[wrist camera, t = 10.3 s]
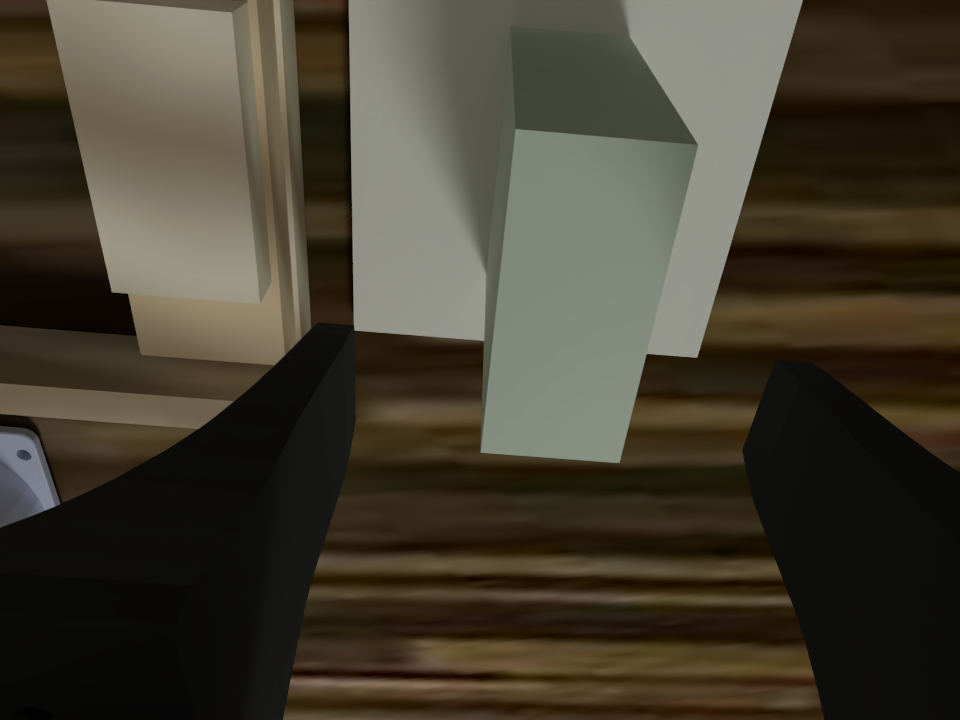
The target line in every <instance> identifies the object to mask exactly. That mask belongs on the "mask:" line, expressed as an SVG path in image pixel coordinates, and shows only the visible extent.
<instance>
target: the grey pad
mask: <svg viewBox="0 0 960 720" xmlns="http://www.w3.org/2000/svg"><path fill="white" fill-rule="evenodd" d="M802 1H803V0H349V50H350V112H351V174H352V236H353V298H354V330H356V331H369V332H382V333H394V334H407V335H419V336H432V337H444V338H457V339H470V340H482V341H484V331H485V299H486V272H487V262H488V252H489V241H490V231H491V220H492V210H493V200H494V189H495V179H496V169H497V158H498V148H499V138H500V127H501V117H502V107H503V96H504V86H505V75H506V65H507V55H508V44H509V34H510V26H515V27H526V28H537V29H548V30H559V31H570V32H581V33H592V34H603V35H614V36H625V37H630V38H631V39H632V41H633V43H634V44H635V46H636V47H637V49H638V50H639V52H640V54H641V55H642V57H643V58H644V60H645V62H646V63H647V65H648V66H649V68H650V69H651V71H652V73H653V74H654V76H655V77H656V79H657V80H658V82H659V84H660V85H661V87H662V88H663V90H664V92H665V93H666V95H667V96H668V98H669V99H670V101H671V103H672V104H673V106H674V107H675V109H676V110H677V112H678V114H679V115H680V117H681V118H682V120H683V122H684V123H685V125H686V126H687V128H688V129H689V131H690V133H691V134H692V136H693V137H694V139H695V140H696V142H697V144H698V149H697V153H696V157H695V161H694V165H693V169H692V173H691V177H690V181H689V185H688V189H687V193H686V197H685V201H684V205H683V209H682V213H681V217H680V221H679V225H678V229H677V233H676V237H675V241H674V245H673V249H672V253H671V257H670V261H669V265H668V269H667V273H666V277H665V281H664V285H663V289H662V293H661V297H660V301H659V305H658V309H657V313H656V317H655V322H654V326H653V330H652V334H651V338H650V342H649V346H648V350H647V354H658V355H671V356H683V357H696V358H697V356H698V353H699V350H700V346H701V343H702V339H703V336H704V333H705V329H706V326H707V322H708V319H709V316H710V312H711V309H712V306H713V302H714V299H715V295H716V292H717V289H718V285H719V282H720V278H721V275H722V272H723V268H724V265H725V262H726V258H727V255H728V251H729V248H730V245H731V241H732V238H733V234H734V231H735V228H736V224H737V221H738V218H739V214H740V211H741V207H742V204H743V201H744V197H745V194H746V191H747V187H748V184H749V180H750V177H751V174H752V170H753V167H754V163H755V160H756V157H757V153H758V150H759V147H760V143H761V140H762V136H763V133H764V130H765V126H766V123H767V119H768V116H769V113H770V109H771V106H772V103H773V99H774V96H775V92H776V89H777V86H778V82H779V79H780V75H781V72H782V69H783V65H784V62H785V59H786V55H787V52H788V48H789V45H790V42H791V38H792V35H793V31H794V28H795V25H796V21H797V18H798V15H799V11H800V8H801V4H802Z"/></svg>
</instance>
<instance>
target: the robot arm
mask: <svg viewBox="0 0 960 720" xmlns="http://www.w3.org/2000/svg"><path fill="white" fill-rule="evenodd" d="M355 421H356V415H355V341H354V326H352V325H340V324H328V323H317V324H316V325H315V326H314V327H312V328H311V329H310V330H309V331H308V332H307V333H306V334H305V335H304V336H303V337H302V338H301V339H300V340H299V341H298V342H297V343H296V344H295V345H294V347H293V348H292V349H291V350H290V351H289V352H288V353H287V354H285V355H284V356H283V357H282V358H281V359H280V360H279V361H278V362H277V363H276V364H275V365H274V366H273V367H272V368H271V369H270V370H269V371H268V372H267V373H266V374H264V375H263V376H262V377H261V378H260V379H259V380H258V381H257V382H256V383H255V384H254V385H253V386H251V387H250V388H249V389H248V390H247V391H246V392H245V393H243V394H242V395H241V396H240V397H238V398H237V399H236V400H235V401H234V402H232V403H231V404H230V405H229V406H227V407H226V408H225V409H224V410H223V411H221V412H220V413H219V414H218V415H216V416H215V417H214V418H213V419H211V420H210V421H209V422H207V423H206V424H204V425H203V426H202V427H200V428H199V429H198V430H196V431H195V432H193V433H192V434H190V435H189V436H187V437H186V438H184V439H183V440H181V441H180V442H178V443H177V444H175V445H173V446H172V447H170V448H169V449H167V450H165V451H164V452H162V453H160V454H159V455H157V456H155V457H153V458H151V459H150V460H148V461H146V462H144V463H142V464H140V465H139V466H137V467H135V468H133V469H131V470H130V471H128V472H126V473H124V474H122V475H121V476H119V477H117V478H115V479H113V480H111V481H109V482H107V483H105V484H103V485H101V486H99V487H97V488H95V489H93V490H91V491H88V492H86V493H84V494H82V495H80V496H78V497H75V498H73V499H71V500H68V501H66V502H64V503H62V504H60V501H59V498H58V495H57V492H56V489H55V486H54V483H53V480H52V477H51V474H50V471H49V468H48V465H47V462H46V459H45V456H44V453H43V450H42V446H41V443H40V440H39V438H38V436H37V435H36V434H35V433H34V432H33V431H31V430H29V429H26V428H19V427H6V426H0V720H283V715H284V710H285V705H286V700H287V694H288V689H289V684H290V679H291V674H292V669H293V663H294V658H295V653H296V648H297V643H298V639H299V634H300V629H301V624H302V619H303V614H304V609H305V605H306V600H307V597H308V593H309V589H310V585H311V582H312V578H313V575H314V572H315V568H316V565H317V562H318V559H319V556H320V553H321V550H322V547H323V543H324V540H325V537H326V534H327V531H328V528H329V525H330V521H331V518H332V515H333V512H334V509H335V506H336V503H337V499H338V496H339V493H340V490H341V487H342V483H343V480H344V477H345V474H346V470H347V465H348V460H349V455H350V449H351V444H352V438H353V432H354V426H355ZM24 450H25V451H24ZM26 451H27V452H26ZM742 451H743V456H744V461H745V466H746V471H747V476H748V480H749V485H750V489H751V493H752V497H753V501H754V504H755V507H756V510H757V512H758V515H759V518H760V520H761V523H762V526H763V528H764V531H765V534H766V536H767V539H768V542H769V544H770V547H771V550H772V552H773V555H774V557H775V560H776V562H777V565H778V568H779V570H780V573H781V575H782V578H783V581H784V583H785V586H786V588H787V591H788V593H789V596H790V599H791V601H792V604H793V606H794V609H795V612H796V615H797V618H798V621H799V624H800V627H801V630H802V633H803V636H804V639H805V643H806V647H807V650H808V654H809V658H810V662H811V666H812V670H813V673H814V677H815V681H816V685H817V689H818V693H819V697H820V701H821V706H822V710H823V715H824V719H825V720H960V473H959V472H957V471H956V470H955V469H953V468H952V467H950V466H949V465H947V464H946V463H944V462H943V461H942V460H940V459H939V458H937V457H936V456H934V455H933V454H932V453H930V452H929V451H928V450H926V449H925V448H923V447H922V446H921V445H919V444H918V443H917V442H915V441H914V440H913V439H911V438H910V437H909V436H907V435H906V434H905V433H903V432H902V431H901V430H899V429H898V428H897V427H896V426H894V425H893V424H892V423H890V422H889V421H888V420H887V419H885V418H884V417H883V416H881V415H880V414H879V413H878V412H876V411H875V410H874V409H873V408H871V407H870V406H869V405H867V404H866V403H865V402H864V401H862V400H861V399H860V398H859V397H857V396H856V395H855V394H854V393H852V392H851V391H850V390H848V389H847V388H846V387H845V386H843V385H842V384H841V383H839V382H838V381H837V380H835V379H834V378H833V377H831V376H830V375H829V374H827V373H826V372H825V371H823V370H822V369H820V368H819V367H817V366H816V365H814V364H813V363H811V362H799V361H786V360H775V363H774V366H773V369H772V371H771V374H770V377H769V379H768V382H767V385H766V388H765V390H764V393H763V396H762V398H761V401H760V404H759V406H758V409H757V412H756V415H755V417H754V420H753V423H752V425H751V428H750V431H749V434H748V436H747V439H746V442H745V444H744V447H743V450H742ZM28 452H29V453H28Z"/></svg>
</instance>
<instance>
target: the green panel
mask: <svg viewBox="0 0 960 720" xmlns="http://www.w3.org/2000/svg"><path fill="white" fill-rule="evenodd" d="M697 149H698V144H697V142H696V140H695V139H694V137H693V136H692V134H691V133H690V131H689V129H688V128H687V126H686V125H685V123H684V122H683V120H682V118H681V117H680V115H679V114H678V112H677V110H676V109H675V107H674V106H673V104H672V103H671V101H670V99H669V98H668V96H667V95H666V93H665V92H664V90H663V88H662V87H661V85H660V84H659V82H658V80H657V79H656V77H655V76H654V74H653V73H652V71H651V69H650V68H649V66H648V65H647V63H646V62H645V60H644V58H643V57H642V55H641V54H640V52H639V50H638V49H637V47H636V46H635V44H634V43H633V41H632V39H631V38H630V37H625V36H614V35H603V34H592V33H581V32H570V31H559V30H548V29H537V28H526V27H515V26H510V34H509V44H508V55H507V65H506V75H505V86H504V96H503V107H502V117H501V127H500V138H499V148H498V158H497V169H496V179H495V189H494V200H493V210H492V220H491V231H490V241H489V252H488V262H487V272H486V299H485V331H484V362H483V394H482V425H481V453H494V454H507V455H520V456H534V457H547V458H560V459H573V460H587V461H600V462H613V463H619V462H620V458H621V454H622V450H623V446H624V442H625V438H626V434H627V430H628V426H629V422H630V418H631V414H632V410H633V406H634V402H635V398H636V394H637V390H638V386H639V382H640V378H641V374H642V370H643V366H644V362H645V358H646V354H647V350H648V346H649V342H650V338H651V334H652V330H653V326H654V322H655V317H656V313H657V309H658V305H659V301H660V297H661V293H662V289H663V285H664V281H665V277H666V273H667V269H668V265H669V261H670V257H671V253H672V249H673V245H674V241H675V237H676V233H677V229H678V225H679V221H680V217H681V213H682V209H683V205H684V201H685V197H686V193H687V189H688V185H689V181H690V177H691V173H692V169H693V165H694V161H695V157H696V153H697Z"/></svg>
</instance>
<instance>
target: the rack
mask: <svg viewBox="0 0 960 720" xmlns="http://www.w3.org/2000/svg"><path fill="white" fill-rule="evenodd" d="M47 4H48V9H49V13H50V18H51V22H52V27H53V31H54V36H55V40H56V44H57V49H58V53H59V58H60V62H61V67H62V71H63V76H64V80H65V85H66V89H67V94H68V98H69V103H70V107H71V112H72V116H73V121H74V125H75V129H76V134H77V138H78V143H79V147H80V152H81V156H82V161H83V165H84V170H85V174H86V179H87V183H88V188H89V192H90V197H91V201H92V206H93V210H94V214H95V219H96V223H97V228H98V232H99V237H100V241H101V246H102V250H103V255H104V259H105V264H106V268H107V273H108V277H109V282H110V286H111V291H112V292H114V293H127V294H128V296H129V300H130V305H131V310H132V315H133V320H134V324H135V329H136V334H137V336H129V335H117V334H104V333H91V332H79V331H66V330H53V329H41V328H28V327H15V326H2V325H0V414H8V415H21V416H35V417H48V418H61V419H74V420H88V421H101V422H114V423H127V424H141V425H154V426H167V427H180V428H194V429H199V428H200V427H202V426H203V425H204V424H206V423H207V422H209V421H210V420H211V419H213V418H214V417H215V416H216V415H218V414H219V413H220V412H221V411H223V410H224V409H225V408H226V407H227V406H229V405H230V404H231V403H232V402H234V401H235V400H236V399H237V398H238V397H240V396H241V395H242V394H243V393H245V392H246V391H247V390H248V389H249V388H250V387H251V386H253V385H254V384H255V383H256V382H257V381H258V380H259V379H260V378H261V377H262V376H263V375H264V374H266V373H267V372H268V371H269V370H270V369H271V368H272V367H273V366H274V365H275V364H276V363H277V362H278V361H279V360H280V359H281V358H282V357H283V356H284V355H285V354H287V353H288V352H289V351H290V350H291V349H292V348H293V347H294V345H295V344H296V343H297V342H298V341H299V340H300V339H301V338H302V337H303V336H304V335H305V334H306V333H307V332H308V331H309V330H310V329H311V318H310V299H309V281H308V262H307V244H306V225H305V207H304V188H303V170H302V151H301V133H300V115H299V96H298V78H297V59H296V41H295V22H294V4H293V0H47Z"/></svg>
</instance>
